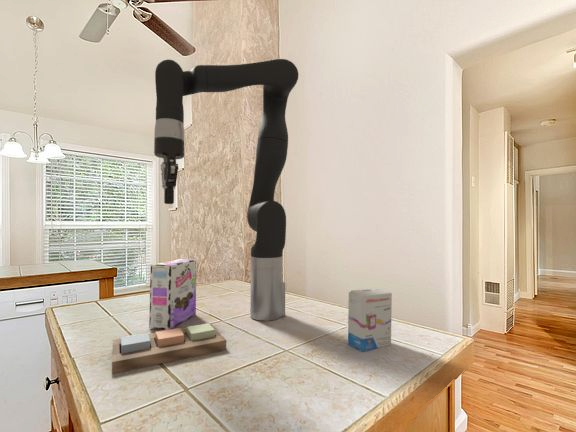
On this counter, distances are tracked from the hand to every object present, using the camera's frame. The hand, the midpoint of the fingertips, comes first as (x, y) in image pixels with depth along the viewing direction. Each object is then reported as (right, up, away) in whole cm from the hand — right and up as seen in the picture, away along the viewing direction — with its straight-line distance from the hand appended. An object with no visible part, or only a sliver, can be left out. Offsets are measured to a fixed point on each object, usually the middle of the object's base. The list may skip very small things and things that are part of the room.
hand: (168, 203), depth 81 cm
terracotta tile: (+7, -31, -17) cm, 36 cm away
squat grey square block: (+1, -31, -20) cm, 37 cm away
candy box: (+1, -32, +2) cm, 32 cm away
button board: (+7, -32, -17) cm, 36 cm away
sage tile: (+12, -31, -13) cm, 36 cm away
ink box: (+50, -32, -14) cm, 61 cm away
